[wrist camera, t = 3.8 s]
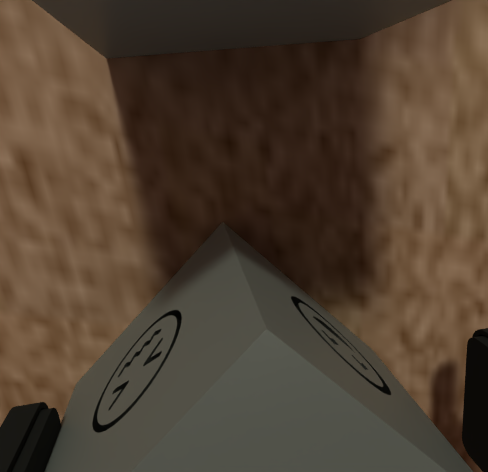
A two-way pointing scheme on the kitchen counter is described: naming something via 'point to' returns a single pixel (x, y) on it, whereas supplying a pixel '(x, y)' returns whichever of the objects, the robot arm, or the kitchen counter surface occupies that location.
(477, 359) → the robot arm
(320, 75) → the kitchen counter surface
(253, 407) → the dice cube
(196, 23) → the light gray cube
